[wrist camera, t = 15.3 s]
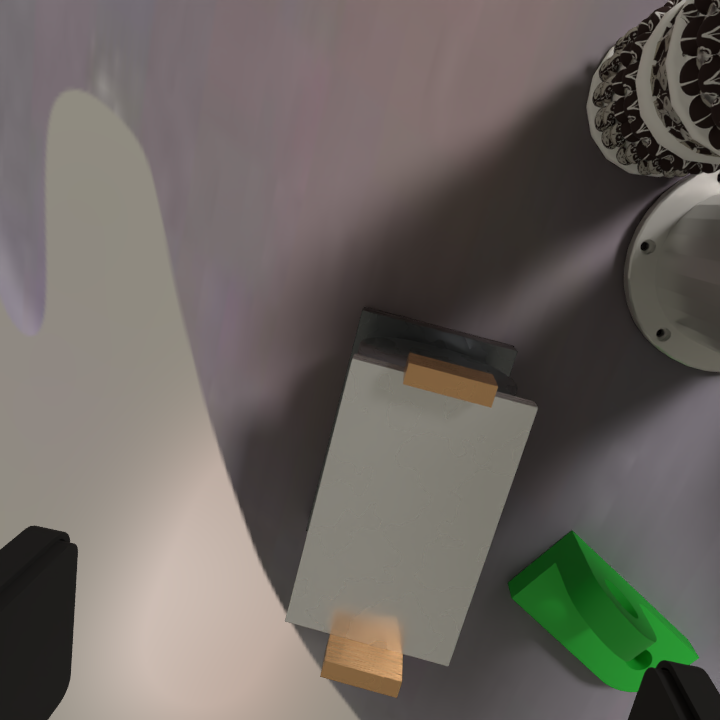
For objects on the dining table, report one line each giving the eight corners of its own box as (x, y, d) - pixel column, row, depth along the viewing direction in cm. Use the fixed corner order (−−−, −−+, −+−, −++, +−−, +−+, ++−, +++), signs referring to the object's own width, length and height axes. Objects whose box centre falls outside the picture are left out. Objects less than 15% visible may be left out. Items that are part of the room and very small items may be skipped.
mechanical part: (507, 581, 44) (526, 660, 37) (571, 528, 43) (605, 600, 35) (621, 685, 46) (663, 783, 38) (686, 638, 44) (744, 729, 36)
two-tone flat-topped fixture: (516, 338, 40) (565, 404, 27) (442, 562, 44) (454, 713, 31) (366, 298, 40) (342, 345, 27) (308, 526, 44) (263, 660, 31)
